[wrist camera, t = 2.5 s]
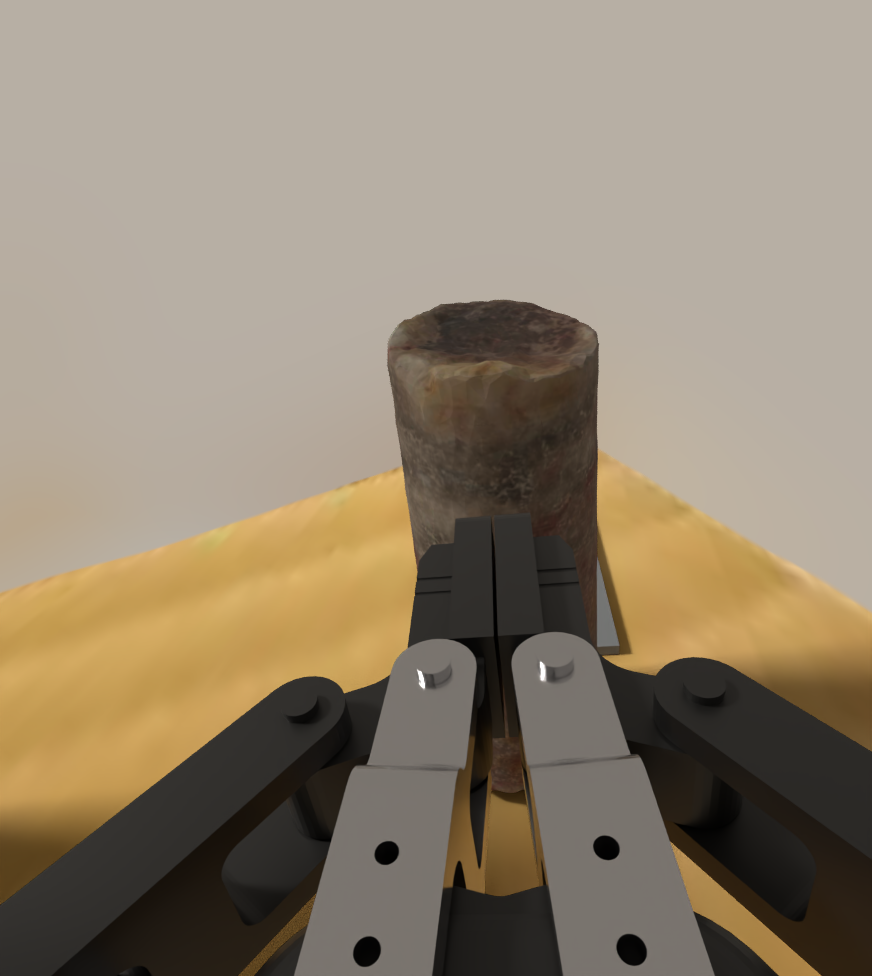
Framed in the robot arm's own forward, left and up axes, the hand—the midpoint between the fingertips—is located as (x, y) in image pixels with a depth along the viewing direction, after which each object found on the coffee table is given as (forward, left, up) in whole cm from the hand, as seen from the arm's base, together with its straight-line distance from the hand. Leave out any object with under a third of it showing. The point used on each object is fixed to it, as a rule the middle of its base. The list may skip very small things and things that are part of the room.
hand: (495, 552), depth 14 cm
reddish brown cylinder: (0, +11, -19) cm, 22 cm away
